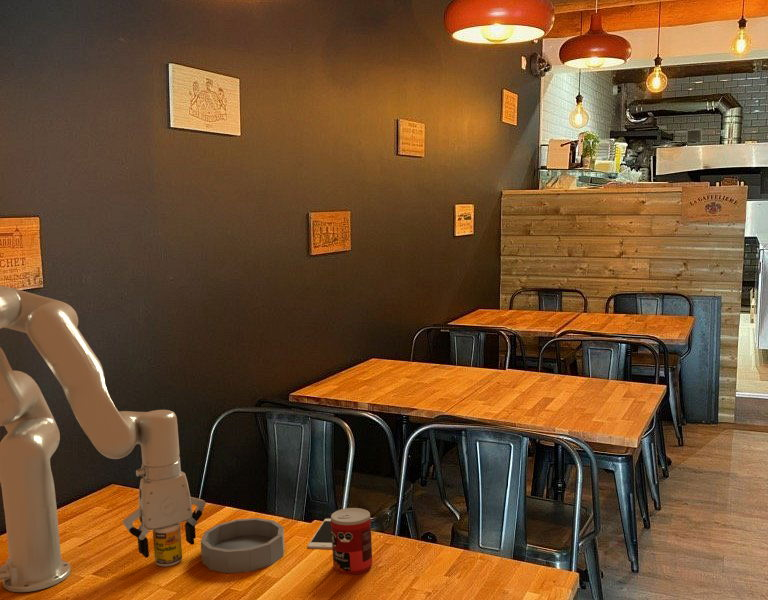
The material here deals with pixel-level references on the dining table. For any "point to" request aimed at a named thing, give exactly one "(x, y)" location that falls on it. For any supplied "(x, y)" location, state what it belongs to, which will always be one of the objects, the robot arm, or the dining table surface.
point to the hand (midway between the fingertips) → (168, 548)
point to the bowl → (242, 545)
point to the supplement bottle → (167, 545)
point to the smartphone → (322, 536)
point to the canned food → (351, 541)
